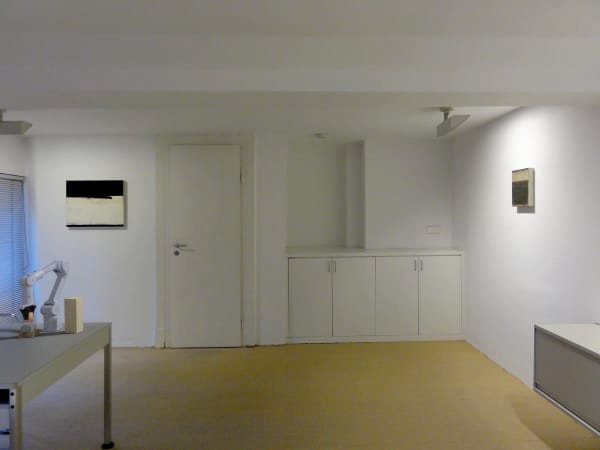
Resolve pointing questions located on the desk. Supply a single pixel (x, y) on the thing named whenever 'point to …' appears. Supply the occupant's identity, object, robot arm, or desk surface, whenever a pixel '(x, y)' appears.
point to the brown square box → (29, 334)
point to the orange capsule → (30, 317)
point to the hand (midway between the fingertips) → (28, 318)
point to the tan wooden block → (73, 314)
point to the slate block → (28, 328)
